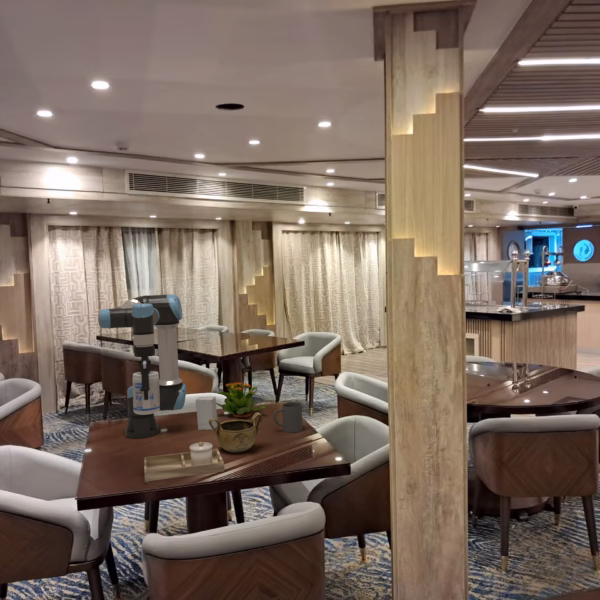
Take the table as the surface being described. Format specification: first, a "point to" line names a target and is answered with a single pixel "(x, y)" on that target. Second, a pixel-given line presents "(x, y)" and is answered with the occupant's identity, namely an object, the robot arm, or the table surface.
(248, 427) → the ceramic bowl
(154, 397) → the supplement tub
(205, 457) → the sugar pot
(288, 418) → the mug
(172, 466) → the caddy
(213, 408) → the skincare box
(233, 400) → the potted flower
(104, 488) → the table surface
